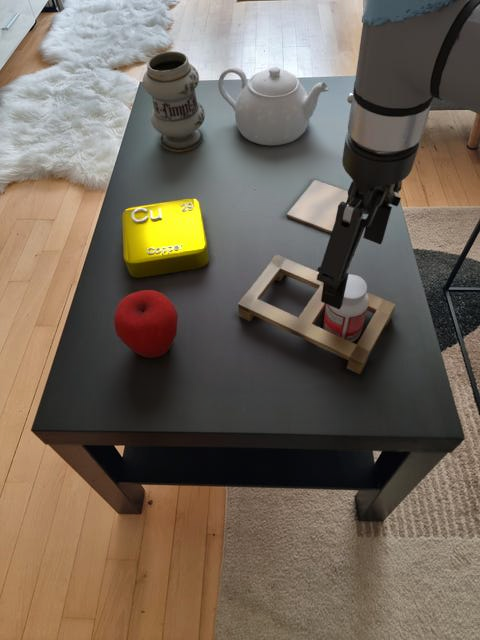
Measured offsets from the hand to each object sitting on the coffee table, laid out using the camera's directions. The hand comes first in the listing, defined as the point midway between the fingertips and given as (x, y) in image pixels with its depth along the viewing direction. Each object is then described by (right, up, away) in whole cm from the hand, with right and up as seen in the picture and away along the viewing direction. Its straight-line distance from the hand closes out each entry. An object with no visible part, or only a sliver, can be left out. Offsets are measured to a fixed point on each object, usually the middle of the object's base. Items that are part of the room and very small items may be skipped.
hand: (352, 270), depth 67 cm
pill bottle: (+1, -9, +12) cm, 15 cm away
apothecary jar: (-29, +35, +45) cm, 64 cm away
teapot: (-8, +38, +46) cm, 60 cm away
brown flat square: (+2, +15, +29) cm, 32 cm away
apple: (-30, -11, +12) cm, 34 cm away
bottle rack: (-3, -6, +13) cm, 15 cm away
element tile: (-30, +7, +25) cm, 40 cm away
